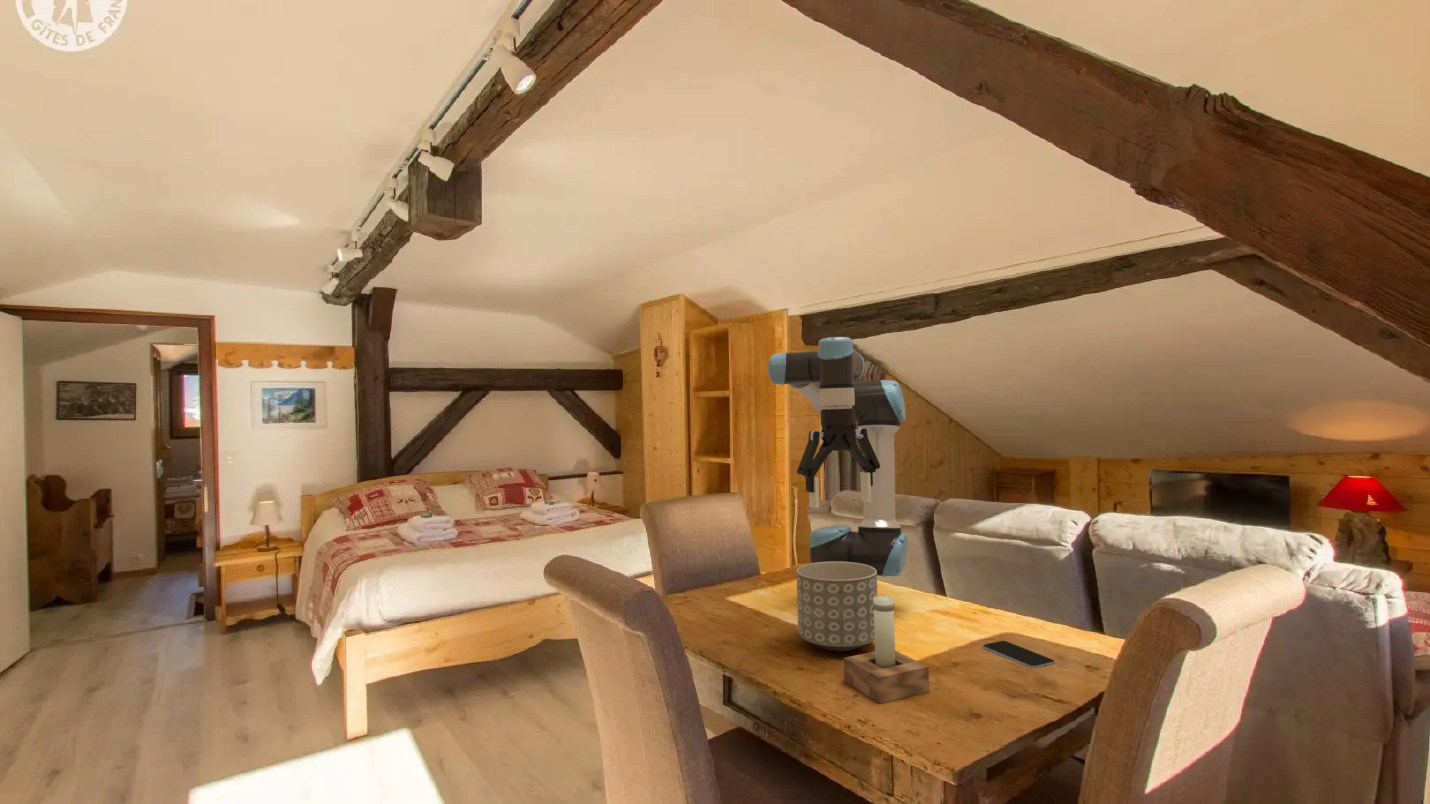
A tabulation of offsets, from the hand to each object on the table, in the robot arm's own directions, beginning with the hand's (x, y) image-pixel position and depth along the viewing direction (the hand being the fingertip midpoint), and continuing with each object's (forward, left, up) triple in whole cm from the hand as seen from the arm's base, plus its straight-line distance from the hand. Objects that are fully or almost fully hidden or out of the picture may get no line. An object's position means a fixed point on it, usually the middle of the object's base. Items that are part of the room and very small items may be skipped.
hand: (840, 504), depth 152 cm
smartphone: (-38, +11, -37) cm, 54 cm away
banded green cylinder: (-2, +12, -36) cm, 38 cm away
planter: (-6, -13, -36) cm, 39 cm away
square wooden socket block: (-1, +12, -36) cm, 38 cm away
